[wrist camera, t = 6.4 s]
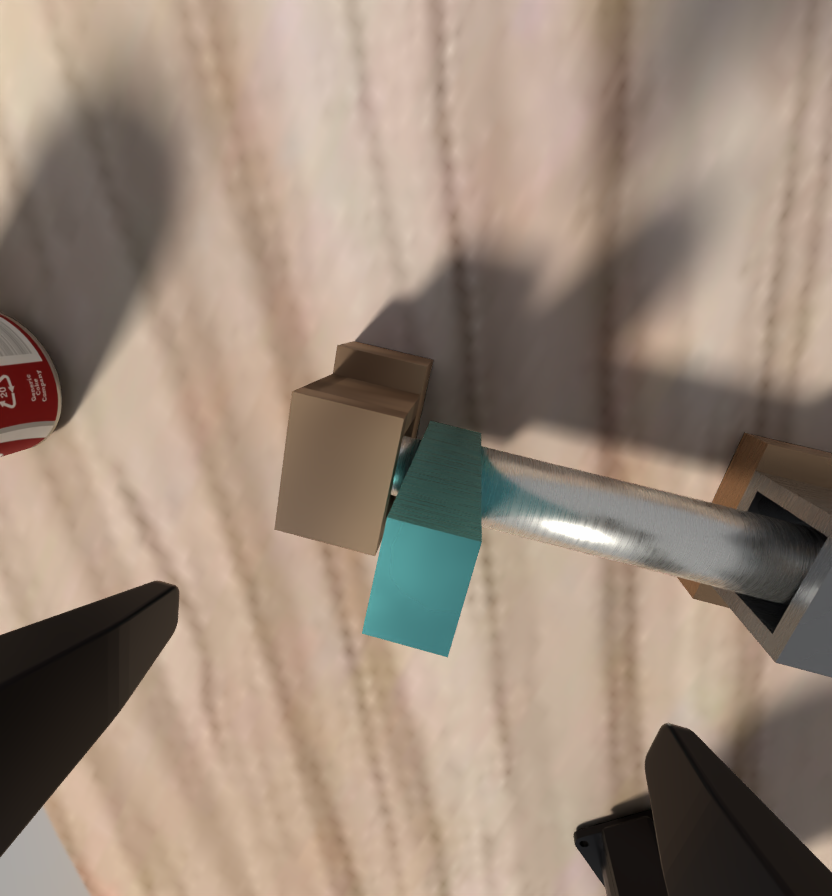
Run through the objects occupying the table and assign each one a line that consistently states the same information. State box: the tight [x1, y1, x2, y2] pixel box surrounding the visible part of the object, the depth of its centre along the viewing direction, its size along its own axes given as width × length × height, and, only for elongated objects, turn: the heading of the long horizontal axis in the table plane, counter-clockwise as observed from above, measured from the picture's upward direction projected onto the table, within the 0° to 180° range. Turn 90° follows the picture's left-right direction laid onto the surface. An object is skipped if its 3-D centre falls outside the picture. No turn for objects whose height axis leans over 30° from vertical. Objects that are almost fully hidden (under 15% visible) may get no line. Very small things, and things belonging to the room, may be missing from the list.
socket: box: [275, 341, 433, 556], centre depth 17 cm, size 4×7×6 cm, turn 168°
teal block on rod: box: [362, 421, 828, 657], centre depth 13 cm, size 18×3×9 cm, turn 78°
